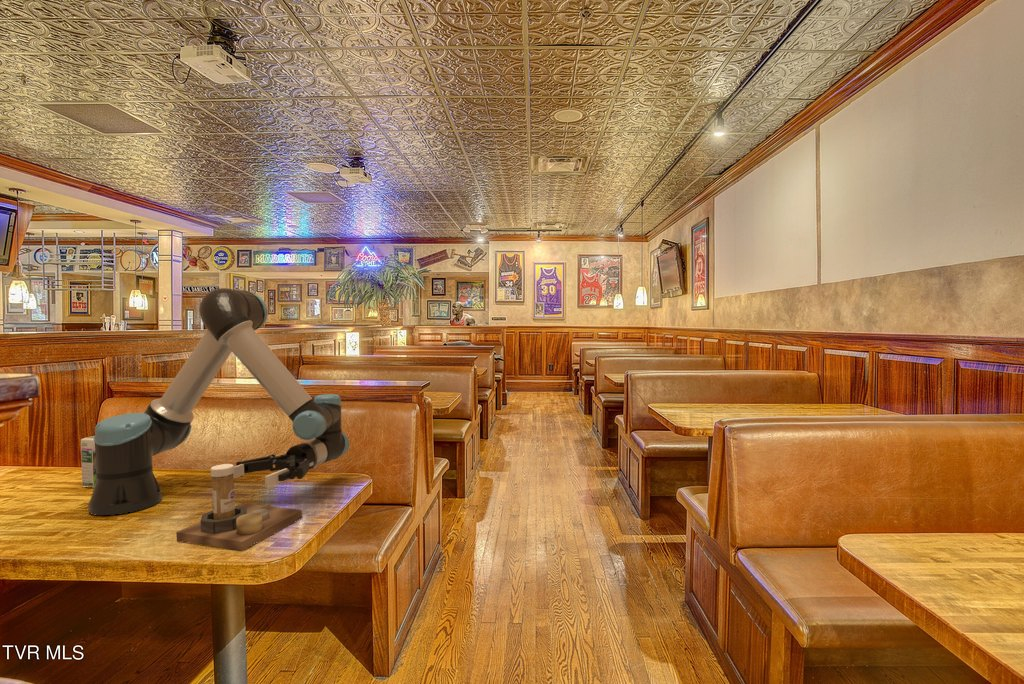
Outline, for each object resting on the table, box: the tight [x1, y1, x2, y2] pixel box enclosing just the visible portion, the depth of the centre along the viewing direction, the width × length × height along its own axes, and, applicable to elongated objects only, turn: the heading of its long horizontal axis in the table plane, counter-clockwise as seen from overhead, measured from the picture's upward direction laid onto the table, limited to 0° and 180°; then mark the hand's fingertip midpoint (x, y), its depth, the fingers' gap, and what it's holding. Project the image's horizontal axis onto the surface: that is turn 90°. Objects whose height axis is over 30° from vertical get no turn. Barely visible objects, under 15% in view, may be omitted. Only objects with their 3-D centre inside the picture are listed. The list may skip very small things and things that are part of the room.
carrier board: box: [175, 502, 303, 552], centre depth 114 cm, size 18×18×5 cm
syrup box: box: [80, 435, 97, 487], centre depth 146 cm, size 6×6×14 cm
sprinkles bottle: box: [210, 463, 236, 520], centre depth 112 cm, size 5×5×13 cm
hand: (242, 479), depth 116 cm, fingers open, 13 cm apart
